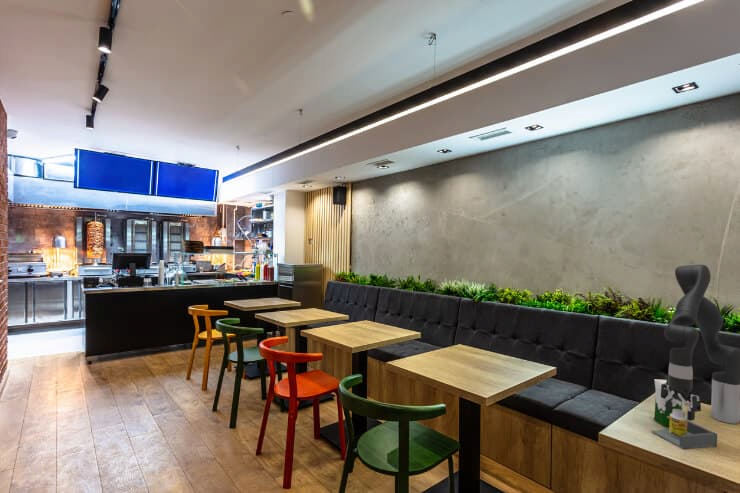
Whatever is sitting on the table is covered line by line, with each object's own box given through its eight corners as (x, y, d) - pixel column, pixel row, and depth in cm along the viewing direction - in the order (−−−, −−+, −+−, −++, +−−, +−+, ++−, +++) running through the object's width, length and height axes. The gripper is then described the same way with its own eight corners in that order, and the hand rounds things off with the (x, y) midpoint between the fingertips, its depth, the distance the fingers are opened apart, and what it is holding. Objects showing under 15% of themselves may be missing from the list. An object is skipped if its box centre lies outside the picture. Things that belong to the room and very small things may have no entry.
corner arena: (683, 429, 159) (683, 418, 159) (716, 446, 147) (717, 433, 147) (651, 432, 156) (651, 420, 156) (682, 449, 144) (683, 436, 144)
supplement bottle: (668, 436, 152) (669, 410, 152) (669, 431, 156) (670, 406, 156) (686, 441, 148) (687, 415, 148) (686, 436, 152) (687, 410, 152)
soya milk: (663, 427, 161) (665, 380, 161) (650, 418, 170) (651, 373, 170) (685, 429, 160) (687, 382, 160) (671, 419, 169) (672, 375, 169)
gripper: (656, 369, 158) (655, 408, 158) (691, 382, 144) (690, 424, 144) (670, 368, 160) (670, 407, 160) (706, 381, 146) (706, 422, 146)
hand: (679, 415), depth 152 cm, fingers open, 8 cm apart
